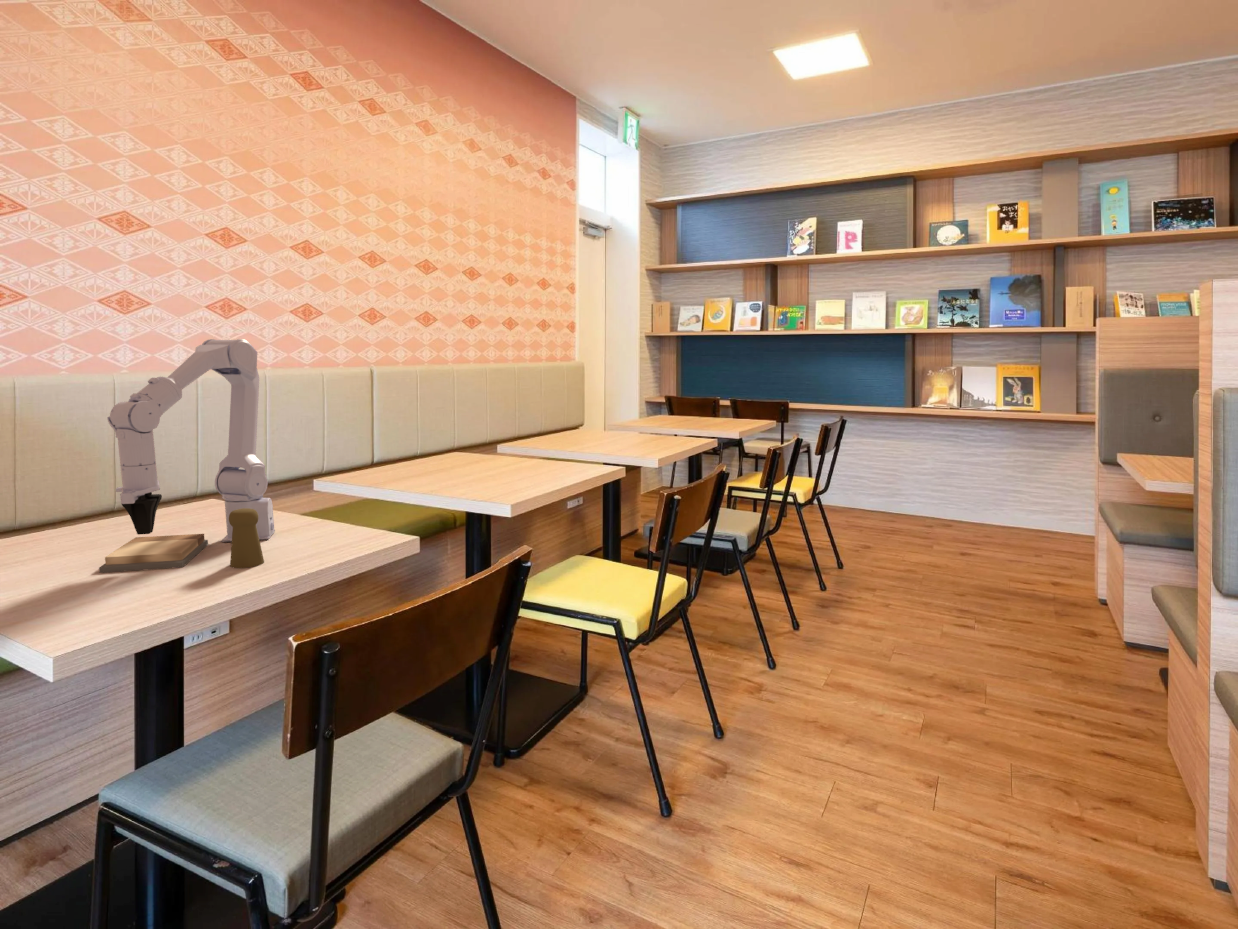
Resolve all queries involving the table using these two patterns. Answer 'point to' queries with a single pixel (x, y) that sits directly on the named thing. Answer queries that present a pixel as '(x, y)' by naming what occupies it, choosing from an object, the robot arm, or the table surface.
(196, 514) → the table surface
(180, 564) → the rubber mat
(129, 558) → the oak plank
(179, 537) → the brown curved block
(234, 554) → the olive pawn
